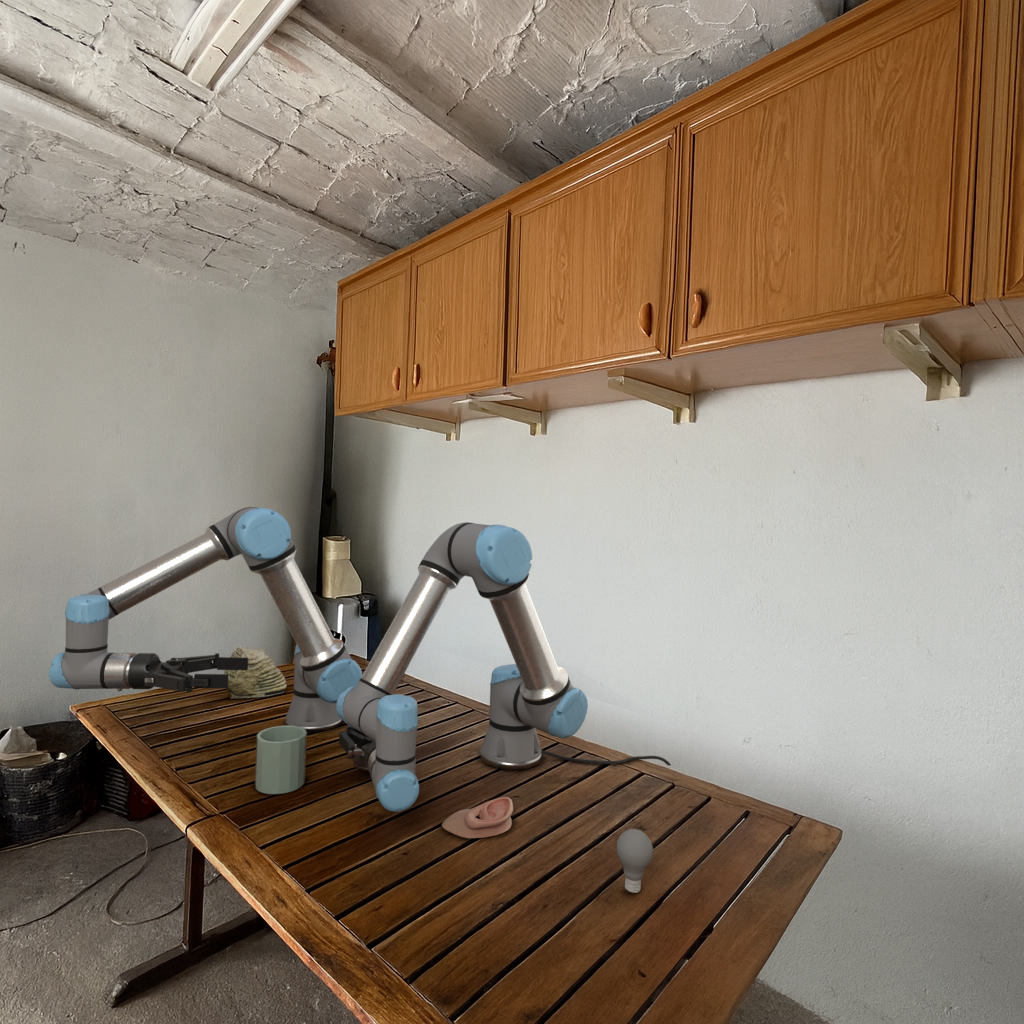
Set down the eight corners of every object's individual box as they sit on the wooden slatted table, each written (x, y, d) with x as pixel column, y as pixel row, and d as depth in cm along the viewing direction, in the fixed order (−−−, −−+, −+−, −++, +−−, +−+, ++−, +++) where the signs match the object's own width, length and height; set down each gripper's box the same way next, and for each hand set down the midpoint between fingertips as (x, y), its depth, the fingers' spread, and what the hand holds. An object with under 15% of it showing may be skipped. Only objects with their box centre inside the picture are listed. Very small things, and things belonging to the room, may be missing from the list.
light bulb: (610, 879, 108) (613, 822, 108) (644, 879, 109) (647, 822, 109) (619, 902, 102) (622, 840, 102) (655, 901, 103) (658, 840, 103)
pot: (287, 769, 146) (289, 722, 146) (313, 783, 140) (315, 733, 140) (246, 783, 138) (247, 733, 138) (271, 798, 132) (273, 746, 132)
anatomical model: (437, 813, 121) (454, 787, 132) (436, 833, 121) (454, 805, 132) (505, 823, 118) (517, 795, 129) (504, 844, 118) (516, 815, 129)
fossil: (218, 695, 195) (220, 647, 195) (278, 685, 208) (279, 640, 207) (228, 703, 189) (230, 653, 188) (289, 692, 201) (290, 645, 201)
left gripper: (159, 672, 148) (254, 673, 150) (103, 707, 123) (217, 708, 125) (160, 640, 147) (255, 641, 150) (104, 669, 123) (218, 670, 125)
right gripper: (331, 785, 125) (322, 742, 146) (435, 773, 132) (413, 734, 154) (333, 747, 125) (324, 710, 146) (437, 738, 132) (414, 704, 154)
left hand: (238, 672), depth 138 cm, fingers open, 13 cm apart
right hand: (369, 722), depth 150 cm, fingers closed on tumbler, 8 cm apart
